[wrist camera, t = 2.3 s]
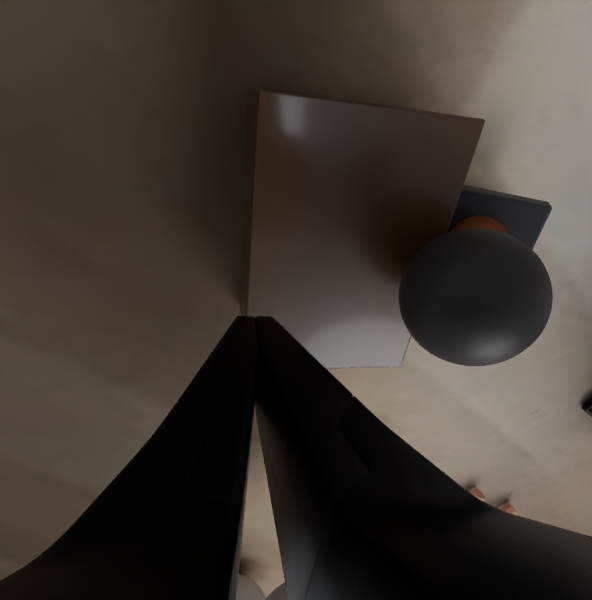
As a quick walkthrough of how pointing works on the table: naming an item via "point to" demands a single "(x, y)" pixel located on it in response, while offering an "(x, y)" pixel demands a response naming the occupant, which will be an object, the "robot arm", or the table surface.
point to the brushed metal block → (344, 216)
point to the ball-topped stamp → (480, 281)
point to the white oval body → (248, 589)
